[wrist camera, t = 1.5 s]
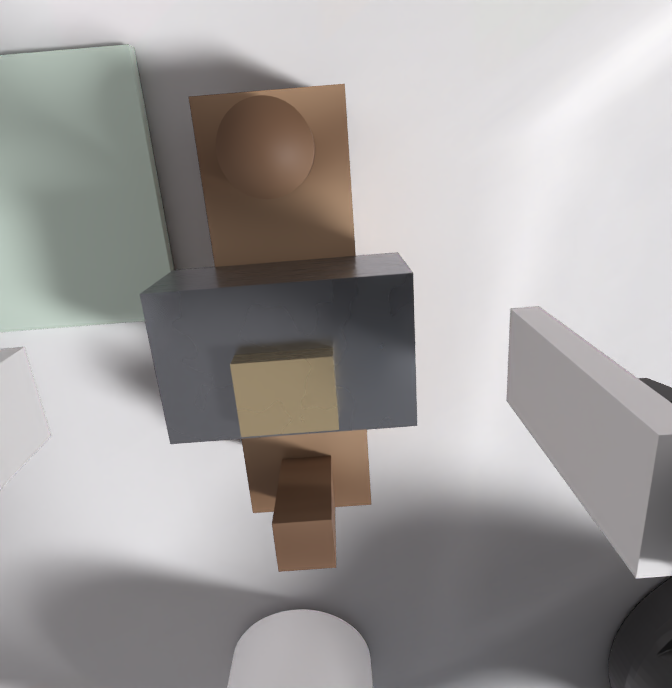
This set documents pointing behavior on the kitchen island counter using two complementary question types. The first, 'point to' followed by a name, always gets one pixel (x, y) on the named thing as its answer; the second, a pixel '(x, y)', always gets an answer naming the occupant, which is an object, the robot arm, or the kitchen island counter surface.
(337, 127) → the hand plane
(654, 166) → the kitchen island counter surface
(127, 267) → the mat
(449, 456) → the kitchen island counter surface
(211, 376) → the dark grey rectangular block
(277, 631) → the beverage can
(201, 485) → the kitchen island counter surface
